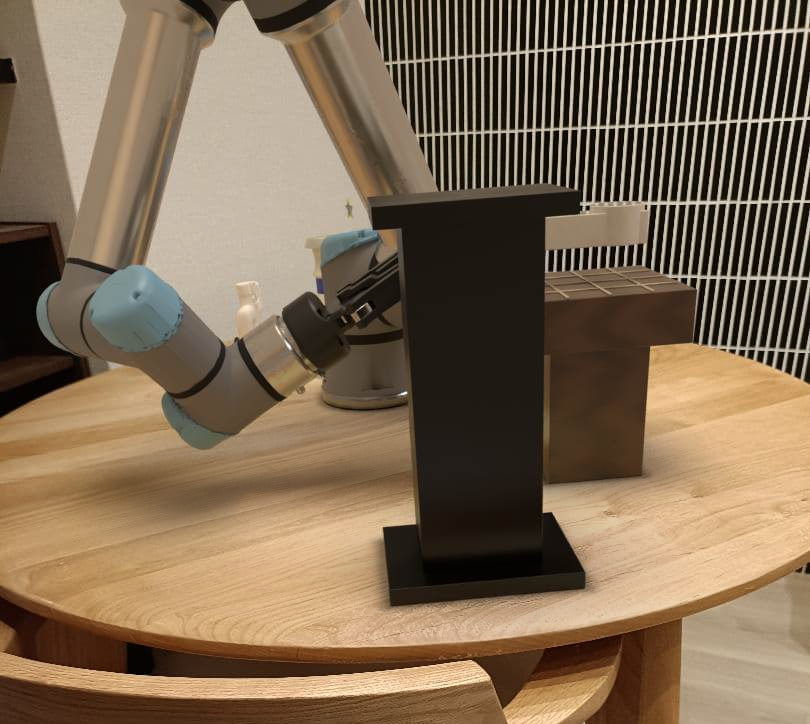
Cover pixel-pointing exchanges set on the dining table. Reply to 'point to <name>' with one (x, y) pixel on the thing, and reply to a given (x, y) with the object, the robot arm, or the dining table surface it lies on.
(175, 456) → the dining table surface
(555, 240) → the white long bar
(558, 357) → the goban
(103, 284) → the robot arm
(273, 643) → the dining table surface
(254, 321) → the figurine
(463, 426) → the stand
